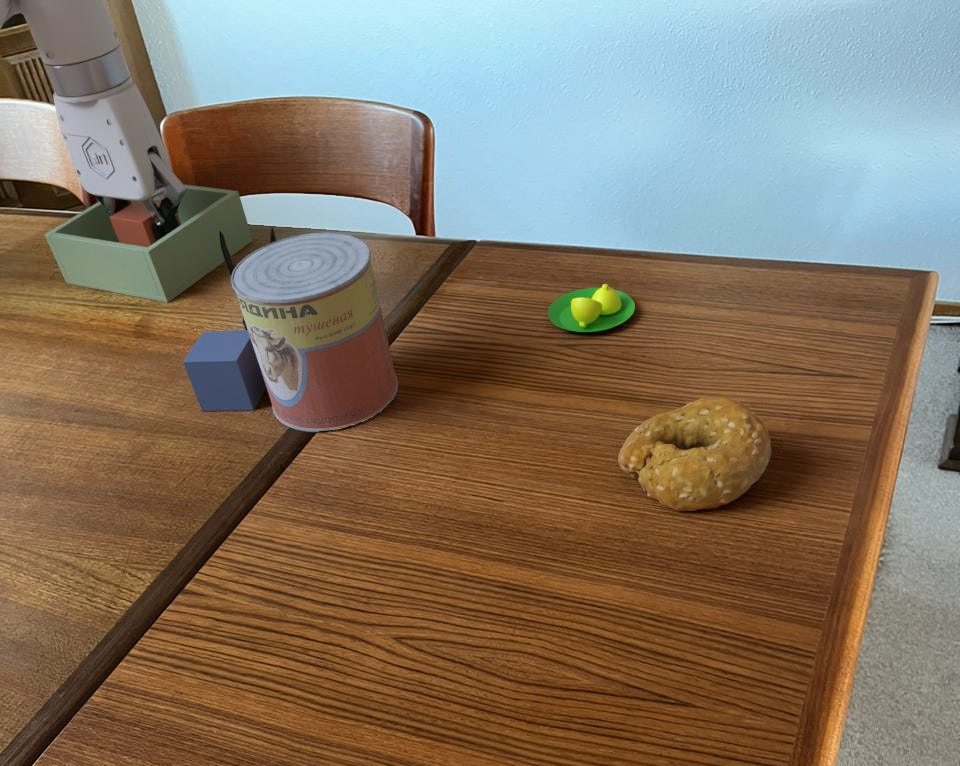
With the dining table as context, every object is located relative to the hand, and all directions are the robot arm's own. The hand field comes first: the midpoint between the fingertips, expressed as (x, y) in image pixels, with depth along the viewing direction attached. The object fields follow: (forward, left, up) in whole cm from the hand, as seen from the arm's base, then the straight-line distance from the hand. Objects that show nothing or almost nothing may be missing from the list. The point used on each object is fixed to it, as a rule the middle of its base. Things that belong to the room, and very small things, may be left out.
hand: (156, 250), depth 108 cm
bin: (0, 0, -1) cm, 1 cm away
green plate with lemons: (+52, +3, -2) cm, 52 cm away
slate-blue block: (+27, -19, -1) cm, 33 cm away
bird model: (+21, -7, -2) cm, 22 cm away
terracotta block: (0, 0, 0) cm, 0 cm away
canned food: (+36, -16, -2) cm, 39 cm away
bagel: (+69, -16, -2) cm, 71 cm away
